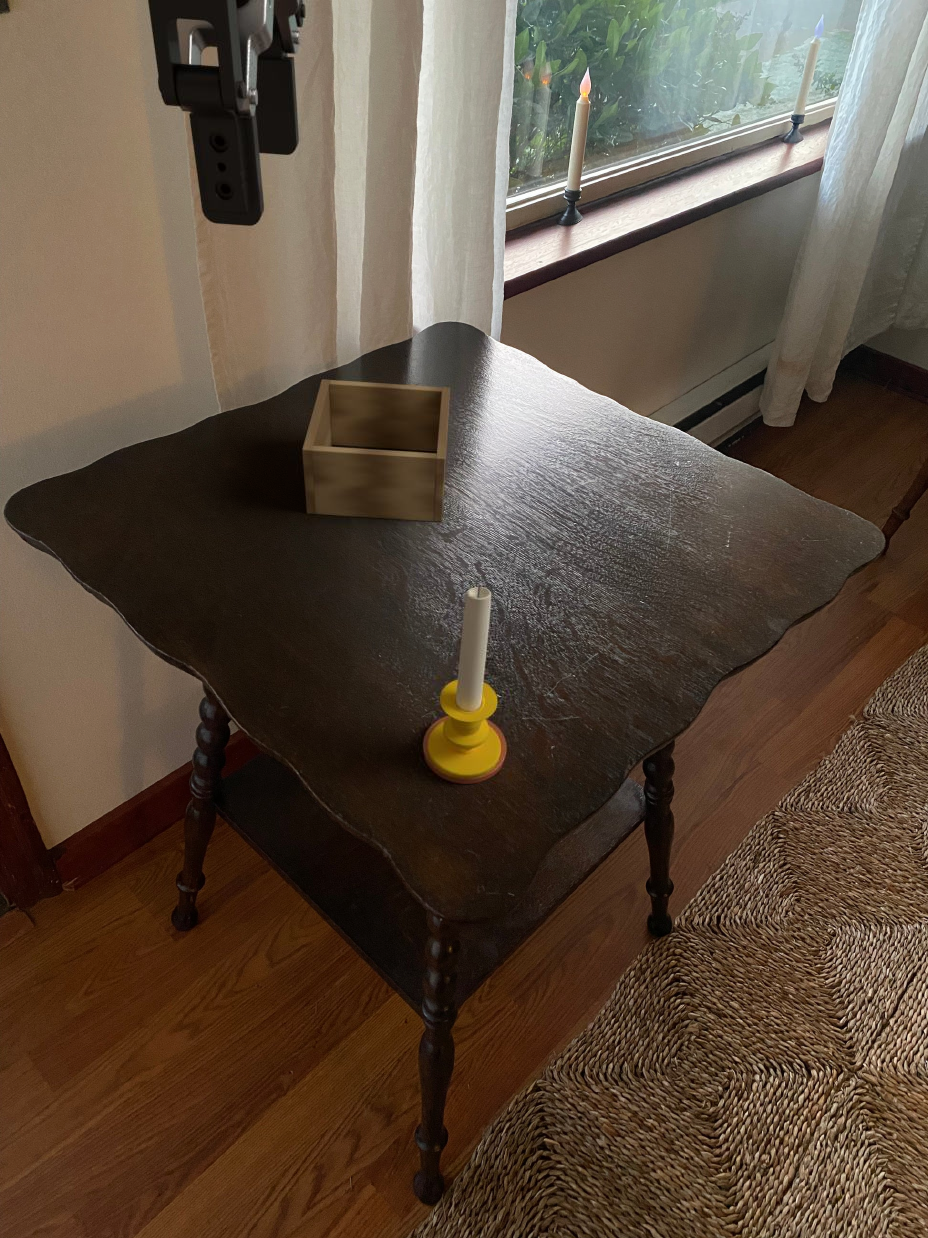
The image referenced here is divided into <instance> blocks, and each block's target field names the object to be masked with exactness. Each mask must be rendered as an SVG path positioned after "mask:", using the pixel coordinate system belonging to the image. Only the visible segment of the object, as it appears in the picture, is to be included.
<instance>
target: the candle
mask: <svg viewBox="0 0 928 1238" xmlns="http://www.w3.org/2000/svg"><path fill="white" fill-rule="evenodd" d="M491 604H492V592H491V590H490V589H488V588H486V587H482V586H481V585H478V586H475V587H471V588H469V589H468V590H466V594H465V601H464V609H463V616H462V617H463V618H462V629H461V640H460V649H459V660H458V661H459V662H458V672H457V673H458V674H457V679H455V680H452V681H450V682H449V683H448V684H446V685H445V686H444V688H443V689H441V692H440V694H439V703H440V706H441V709H442V710H443V711H444V713H445V714H446V716H448V715H449V716H448V717H447V718H446V720H445V721H444V722H442V723H440V724H439V725H438V726H436V727H435V728H434V730H433V731H432V732H431V734H430V736H429V739H428V755H429V757H430V760H431V761H432V763H433V764H434V766H435V767H436V768H438V769H439V770H440V771H441V772H443V773H445V774H447V775H449V776H452V777H456V778H468V779H470V778H475V777H480V776H482V775H484V774H486V773H488V772H489V771H490V770H491V769H493V768H494V767H495V765H496V764H497V762H498V761H499V757H500V753H501V743H500V740H499V737H498V735H497V734H496V732H495V731H494V730H493V729H492V728H491V727H490V726H489V725H488V723H487V721H486V720H485V719H487V720H488V718H490V717H491V716H492V715H493V714H494V713H495V712H496V710H497V707H498V696H497V694H496V692H495V690H494V689H493V687H492V686H491V685H489V684H488V683H486V682H484V679H485V670H486V668H485V667H486V658H487V649H488V641H489V639H488V638H489V630H490V620H491V606H492V605H491Z"/></svg>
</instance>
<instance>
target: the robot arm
mask: <svg viewBox="0 0 928 1238" xmlns="http://www.w3.org/2000/svg"><path fill="white" fill-rule="evenodd" d="M147 3H148V11H149V19H150V25H151V33H152V39H153V48H154V55H155V62H156V70H157V76H158V77H157V87H158V90H159V92H160V96H161V99H162V101H163V103H164V105H165V106H168V107H179V108H180V110H181V111H182V112H186V113H189V114H188V117H189V125H190V132H191V138H192V146H193V155H194V160H195V168H196V169H195V170H196V177H197V184H198V189H199V198H200V205H201V212H202V215H203V216H204V217H205V219H206V220H207V221H209V222H211V223H213V224H218V225H231V226H232V225H233V226H246V227H252V226H255V225H257V224H258V223H259V222H260V220H261V218H262V216H263V214H264V212H265V201H264V191H263V179H262V168H261V157H260V154H265V155H279V156H289V155H292V154H294V152H295V151H296V149H297V148H298V146H299V143H300V133H299V119H298V118H299V117H298V101H297V85H296V84H297V83H296V67H295V66H296V65H295V56H288V55H297V54H298V50H299V46H300V45H301V33H300V30H298V28H303V25H304V19H306V13H307V12H306V10H307V9H306V4H305V3H304V0H147ZM206 48H216V54H217V63H218V65H206V64H202V53H203V51H204V50H206Z"/></svg>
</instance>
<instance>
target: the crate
mask: <svg viewBox="0 0 928 1238" xmlns="http://www.w3.org/2000/svg"><path fill="white" fill-rule="evenodd" d="M450 397H451V387H445V386H444V387H442V386H429V385H428V386H427V385H413V384H397V383H381V382H367V381H366V382H365V381H355V380H354V381H351V380H338V379H337V380H336V379H321V381H320V386H319V388H318V391H317V395H316V399H315V403H314V406H313V411H312V413H311V416H310V421H309V425H308V428H307V432H306V435H305V438H304V442H303V446H302V449H301V451H302V452H301V453H302V463H303V465H302V466H303V477H304V479H303V480H304V493H305V504H306V514H308V515H323V516H324V515H325V516H339V517H340V516H341V517H357V518H371V519H372V518H373V519H388V520H389V519H391V520H405V521H420V522H421V521H423V522H437V523H442V522H443V511H444V499H445V498H444V497H445V496H444V495H445V482H446V467H447V454H448V453H447V452H448V451H447V450H448V435H449V434H448V433H449V416H450V415H449V414H450ZM339 446H340V447H339ZM342 446H343V447H342ZM344 446H345V447H344ZM355 447H357V448H355ZM370 448H371V449H370ZM373 448H375V449H373ZM402 450H403V451H402ZM405 450H406V451H405ZM418 451H420V452H418ZM421 451H422V452H421ZM433 452H434V453H433Z"/></svg>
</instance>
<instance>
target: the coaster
mask: <svg viewBox="0 0 928 1238" xmlns="http://www.w3.org/2000/svg"><path fill="white" fill-rule="evenodd" d="M448 716H449V715H446V716H443V717H440V718H439V719H438V720H436V721H434V722H433V723H432V724H431V725H430V726H429V727H428V729H427V730H426V732H425V734H424V737H423V741H422V755H423V757H424V761H425V763H426V765H427V767H429V769H430V770H431V771H432V772H433V773H434V774H435V775H436V776H438V777H439V778H442V779H443V780H445V781H448V782H450V783H455V784H459V785H461V784H462V785H472V784H473V785H474V784H478V783H482V782H484V781H486V780H489V779H491V778H492V777H493V776H495V775H496V774H497V773H498V772H499V771H500V770H501V769H502V767H503V766H504V764H505V762H506V761H505V760H506V757H507V751H508V750H507V749H508V747H507V745H508V744H507V741H506V738H505V735H504V733H503V732H502V730H501V729H500V728H499V727H498V726H497V725H496V724H495V723H494V722H492V721H491V720H489V719H488V718H487V719H485V720H486V721H487V723H488V725H489V726H490V727H491V728H492V729H493V730H494V731H495V732H496V734H497V735H498V737H499V740H500V743H501V753H500V757H499V761H498V762H497V764H496V765H495V767H494V768H493V769H491V770H490V771H489V772H488V773H486V774H484V775H482V776H480V777H475V778H470V779H468V778H456V777H452V776H449V775H447V774H445V773H443V772H441V771H440V770H439V769H438V768H436V767H435V766H434V764H433V763H432V761H431V760H430V757H429V755H428V739H429V736H430V734H431V732H432V731H433V730H434V728H435V727H436V726H438V725H439V724H440V723H442V722H444V721H445V720H446V718H447V717H448Z"/></svg>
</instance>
